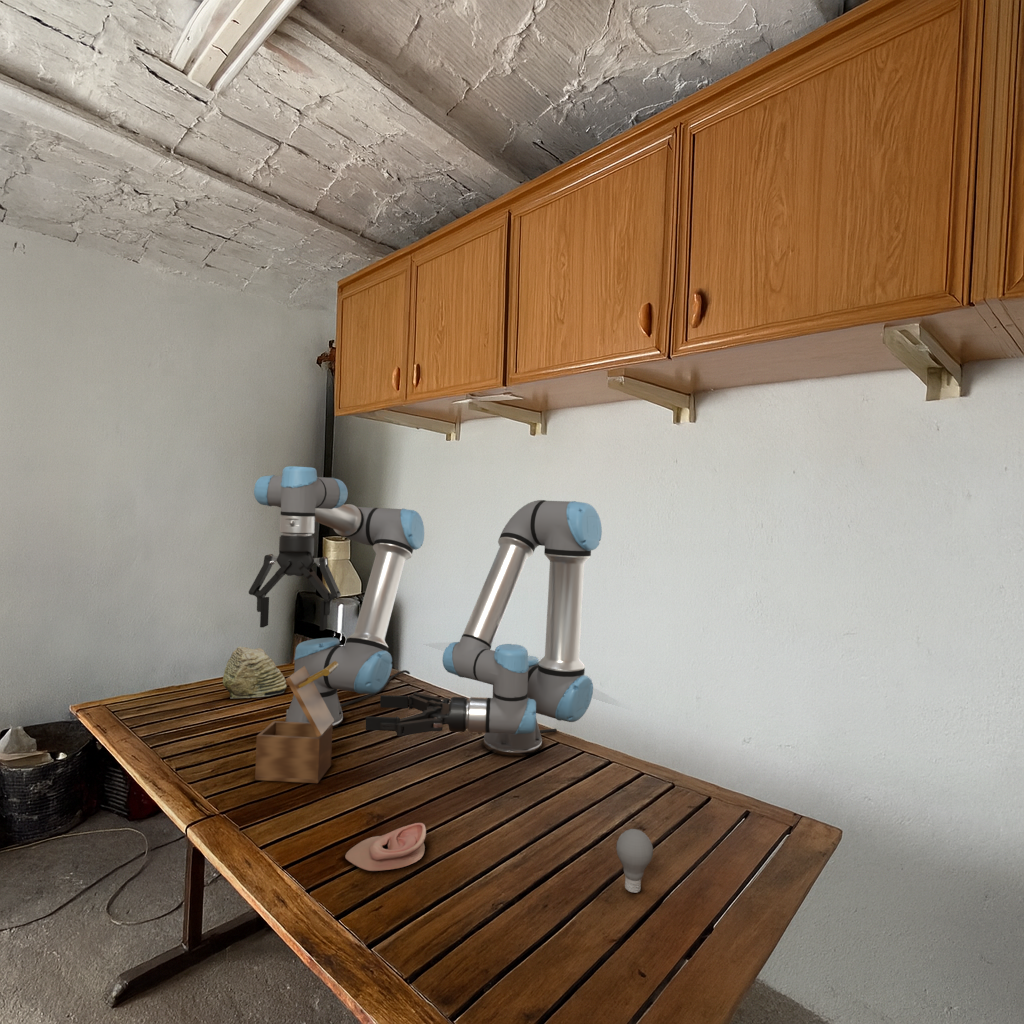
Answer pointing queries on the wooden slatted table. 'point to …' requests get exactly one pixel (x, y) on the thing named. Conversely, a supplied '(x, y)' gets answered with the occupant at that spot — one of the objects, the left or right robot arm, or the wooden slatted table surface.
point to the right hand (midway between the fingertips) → (373, 711)
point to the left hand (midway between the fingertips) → (293, 627)
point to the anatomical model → (390, 849)
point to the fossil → (252, 674)
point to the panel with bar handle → (312, 697)
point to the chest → (292, 753)
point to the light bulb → (634, 857)
